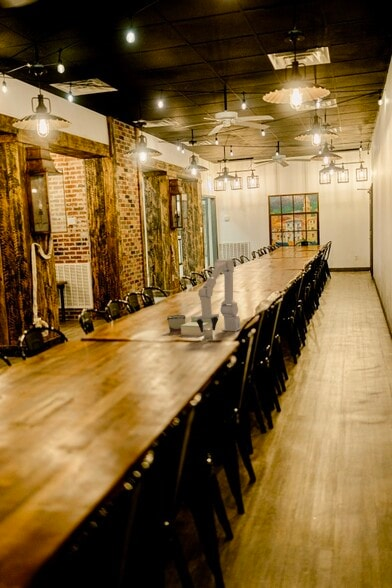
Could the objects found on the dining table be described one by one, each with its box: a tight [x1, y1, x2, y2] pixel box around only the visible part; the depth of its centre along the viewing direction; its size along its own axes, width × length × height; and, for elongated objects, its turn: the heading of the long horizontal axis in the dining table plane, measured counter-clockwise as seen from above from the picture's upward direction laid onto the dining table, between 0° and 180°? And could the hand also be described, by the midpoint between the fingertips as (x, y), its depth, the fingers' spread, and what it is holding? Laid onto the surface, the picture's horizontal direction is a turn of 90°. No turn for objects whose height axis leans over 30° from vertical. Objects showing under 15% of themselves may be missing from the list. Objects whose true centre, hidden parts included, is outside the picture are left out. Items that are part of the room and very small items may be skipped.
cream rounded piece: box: [203, 328, 214, 340], centre depth 324 cm, size 5×5×5 cm
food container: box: [166, 314, 187, 333], centre depth 349 cm, size 12×6×10 cm, turn 84°
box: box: [180, 323, 213, 336], centre depth 341 cm, size 14×14×5 cm
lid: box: [181, 315, 212, 327], centre depth 340 cm, size 14×14×4 cm
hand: (207, 331), depth 324 cm, fingers open, 7 cm apart
